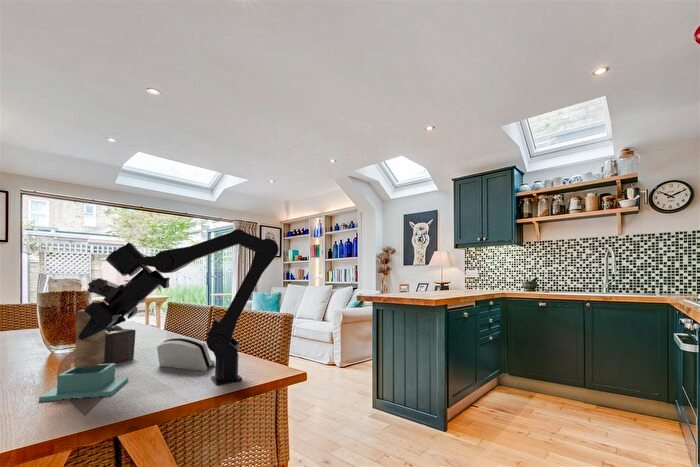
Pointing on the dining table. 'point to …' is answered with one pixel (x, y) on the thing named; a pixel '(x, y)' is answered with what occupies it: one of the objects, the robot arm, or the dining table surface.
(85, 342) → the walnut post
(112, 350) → the dark brown wooden block
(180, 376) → the dining table surface
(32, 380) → the dining table surface
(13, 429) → the dining table surface
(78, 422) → the dining table surface
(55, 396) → the well
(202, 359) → the grey curved block
